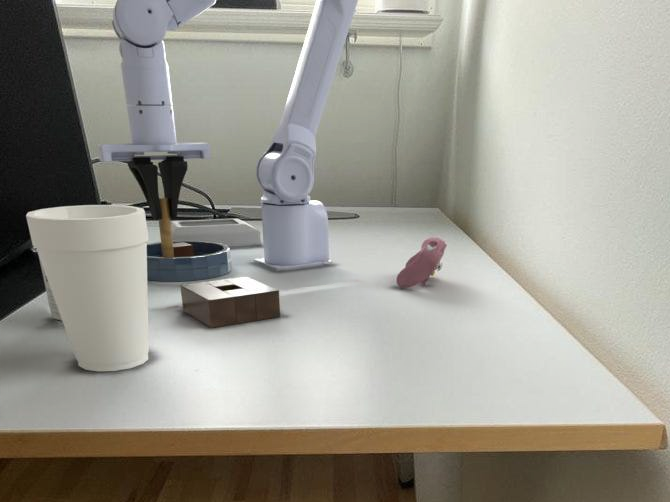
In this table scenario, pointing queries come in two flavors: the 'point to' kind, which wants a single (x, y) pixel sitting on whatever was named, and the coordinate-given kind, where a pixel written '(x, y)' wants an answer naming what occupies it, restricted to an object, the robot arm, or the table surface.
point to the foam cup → (97, 280)
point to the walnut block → (183, 250)
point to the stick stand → (230, 301)
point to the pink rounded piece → (422, 263)
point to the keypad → (216, 231)
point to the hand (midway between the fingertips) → (164, 218)
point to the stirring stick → (166, 229)
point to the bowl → (189, 262)
